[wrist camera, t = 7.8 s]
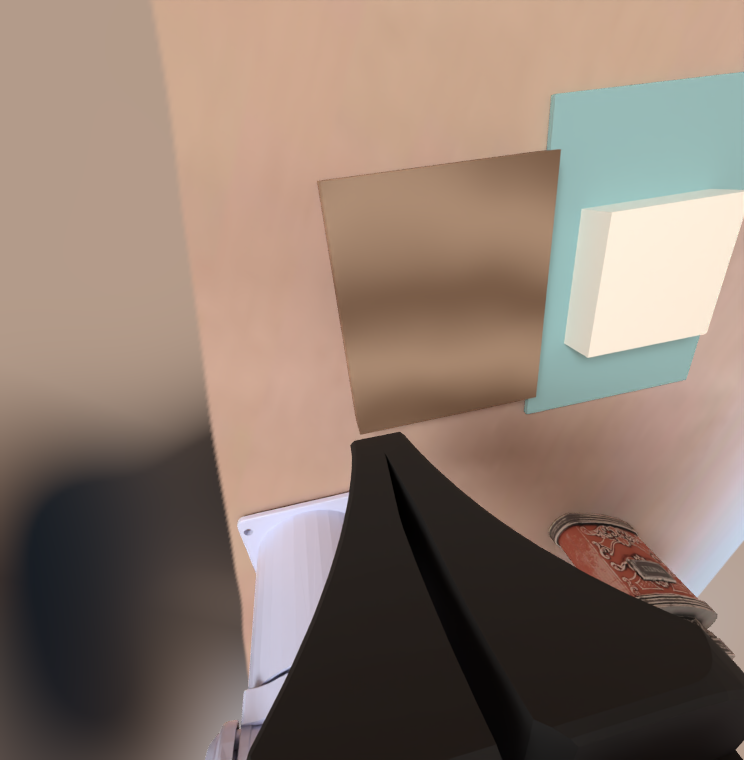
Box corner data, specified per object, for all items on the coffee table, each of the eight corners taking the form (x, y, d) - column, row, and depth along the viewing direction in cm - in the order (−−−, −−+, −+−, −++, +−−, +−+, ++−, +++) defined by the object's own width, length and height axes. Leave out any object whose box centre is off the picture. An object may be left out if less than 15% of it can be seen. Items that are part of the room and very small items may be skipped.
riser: (521, 384, 23) (536, 397, 22) (355, 419, 22) (360, 434, 21) (540, 150, 17) (561, 149, 16) (316, 181, 16) (319, 181, 15)
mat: (682, 377, 25) (686, 379, 25) (524, 411, 24) (526, 414, 24) (775, 68, 18) (783, 67, 18) (551, 95, 16) (555, 94, 16)
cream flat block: (674, 321, 23) (706, 333, 21) (563, 343, 22) (587, 357, 20) (710, 188, 20) (752, 190, 18) (581, 208, 19) (612, 212, 17)
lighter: (638, 520, 32) (770, 650, 23) (614, 550, 33) (731, 683, 24) (563, 507, 29) (681, 648, 21) (540, 539, 31) (642, 685, 22)
